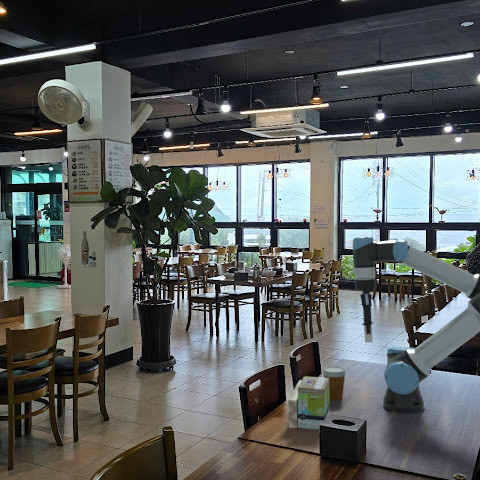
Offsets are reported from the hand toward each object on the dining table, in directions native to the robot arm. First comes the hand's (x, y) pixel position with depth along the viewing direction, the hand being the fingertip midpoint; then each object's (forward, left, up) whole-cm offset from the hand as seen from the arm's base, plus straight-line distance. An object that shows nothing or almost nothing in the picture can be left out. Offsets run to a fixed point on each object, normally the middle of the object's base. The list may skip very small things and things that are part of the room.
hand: (368, 342), depth 203 cm
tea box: (+19, +10, -28) cm, 35 cm away
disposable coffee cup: (+15, -18, -28) cm, 36 cm away
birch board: (+26, +5, -28) cm, 38 cm away
